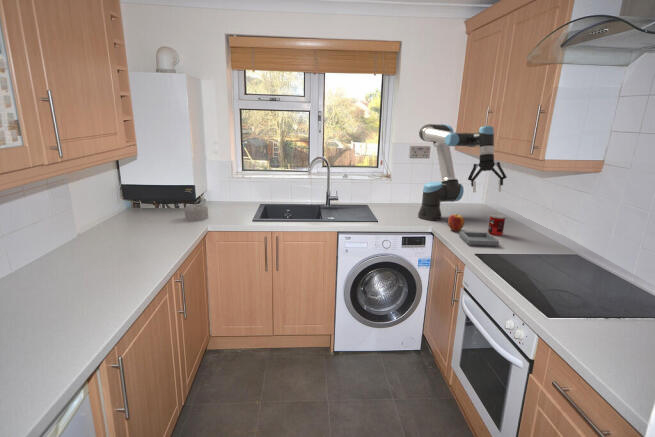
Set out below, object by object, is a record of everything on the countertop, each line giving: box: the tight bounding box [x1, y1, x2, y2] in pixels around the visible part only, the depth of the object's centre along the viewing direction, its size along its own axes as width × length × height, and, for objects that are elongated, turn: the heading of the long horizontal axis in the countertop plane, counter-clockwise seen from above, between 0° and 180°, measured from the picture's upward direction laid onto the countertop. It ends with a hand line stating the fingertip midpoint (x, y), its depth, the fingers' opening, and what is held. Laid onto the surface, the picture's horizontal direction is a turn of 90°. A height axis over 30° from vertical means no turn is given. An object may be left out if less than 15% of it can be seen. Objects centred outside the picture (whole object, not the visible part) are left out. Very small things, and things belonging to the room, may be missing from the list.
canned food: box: [487, 213, 506, 237], centre depth 217 cm, size 8×8×11 cm
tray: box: [459, 230, 500, 248], centre depth 204 cm, size 16×16×3 cm
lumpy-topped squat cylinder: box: [184, 203, 209, 223], centre depth 229 cm, size 10×13×9 cm
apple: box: [447, 213, 465, 232], centre depth 221 cm, size 9×9×10 cm
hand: (486, 192), depth 213 cm, fingers open, 13 cm apart
